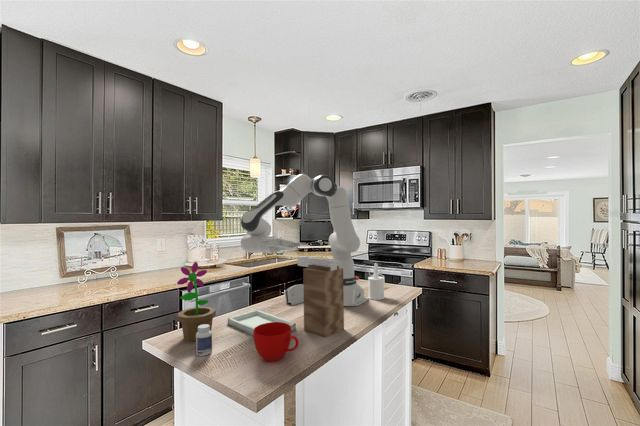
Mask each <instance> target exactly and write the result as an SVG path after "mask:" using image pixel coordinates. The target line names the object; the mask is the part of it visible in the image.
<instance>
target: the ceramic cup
mask: <svg viewBox="0 0 640 426" xmlns="http://www.w3.org/2000/svg"><path fill="white" fill-rule="evenodd" d="M253 334H254V336H253V341H254V346H255V350H256V351H257V353H258V355H259V357H261V358H262V360H263V361H264V362H269V363H273V362H278V361H280V360H282V359H283V357H284V356H285V355H286V353H289V352H293V351H295V350H296V349H297V348H298V346H299V342H300V341H299V339H298V338H297V336H295V335H292V331H291V326H290V325H288V324H286V323H281V322H270V323H264V324H261V325H259V326H257V327H255V328H254V332H253ZM291 340H294V342H295V344H294V346H293V347H292V348H290V345H291Z"/></svg>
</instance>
